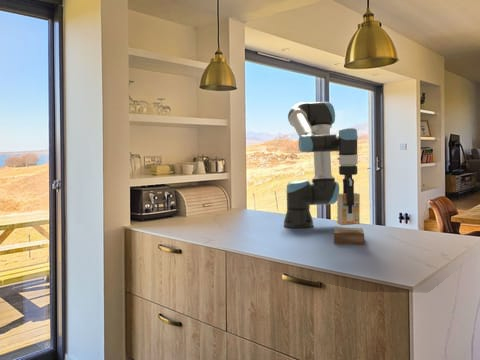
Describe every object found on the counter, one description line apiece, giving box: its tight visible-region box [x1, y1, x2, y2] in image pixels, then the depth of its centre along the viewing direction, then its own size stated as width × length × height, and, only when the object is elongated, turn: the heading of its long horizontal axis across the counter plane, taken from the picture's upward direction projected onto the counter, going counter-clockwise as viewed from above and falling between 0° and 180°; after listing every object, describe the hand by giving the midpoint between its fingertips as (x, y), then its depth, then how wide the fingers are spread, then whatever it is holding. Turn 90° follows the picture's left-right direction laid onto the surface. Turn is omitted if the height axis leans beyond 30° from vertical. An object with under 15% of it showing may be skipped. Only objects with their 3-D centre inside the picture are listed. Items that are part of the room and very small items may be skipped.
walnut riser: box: [333, 226, 365, 246], centre depth 173 cm, size 12×12×5 cm
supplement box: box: [336, 192, 361, 226], centre depth 172 cm, size 8×5×13 cm, turn 101°
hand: (348, 219), depth 172 cm, fingers closed on supplement box, 6 cm apart
